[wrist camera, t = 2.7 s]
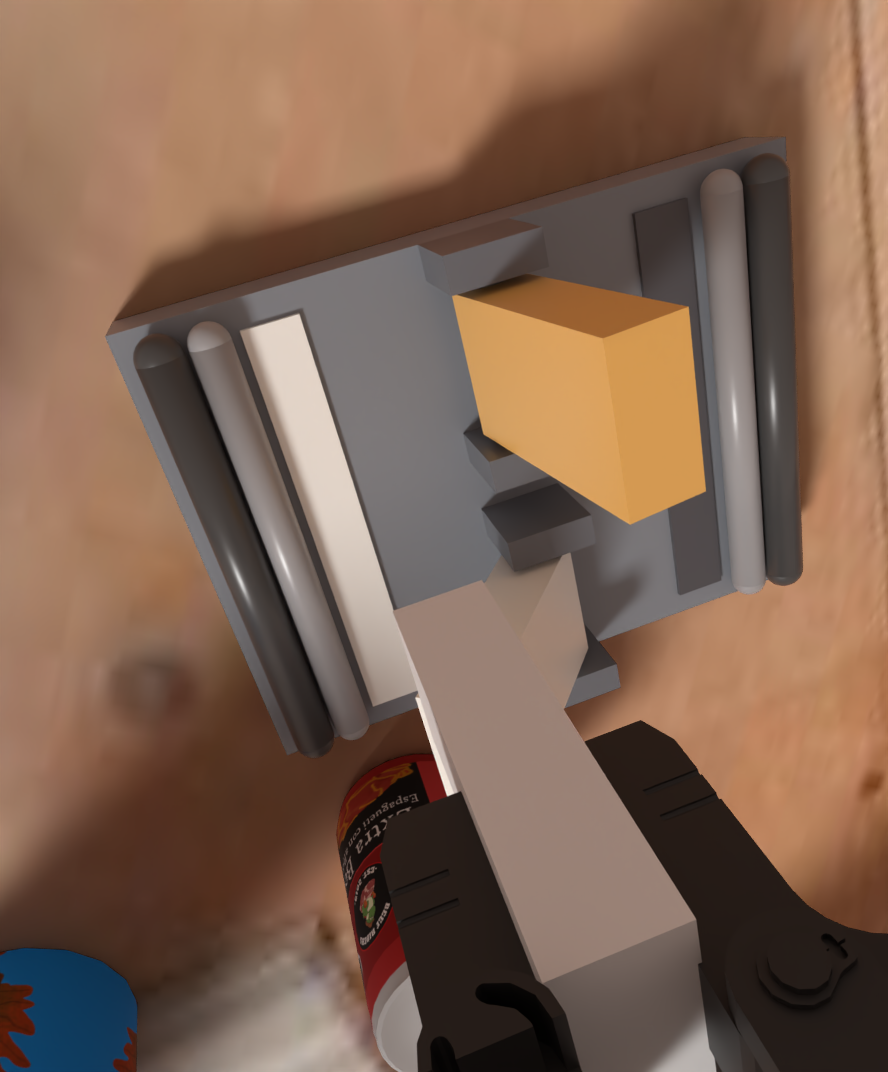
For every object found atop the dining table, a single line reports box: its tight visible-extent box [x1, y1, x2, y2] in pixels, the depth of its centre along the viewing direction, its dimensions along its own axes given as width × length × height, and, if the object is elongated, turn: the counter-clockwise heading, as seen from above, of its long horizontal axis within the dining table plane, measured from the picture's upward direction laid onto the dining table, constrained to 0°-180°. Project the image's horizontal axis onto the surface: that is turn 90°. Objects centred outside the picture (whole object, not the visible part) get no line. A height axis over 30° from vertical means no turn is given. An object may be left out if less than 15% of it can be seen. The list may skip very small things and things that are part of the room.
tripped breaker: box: [452, 274, 706, 525], centre depth 25 cm, size 5×2×10 cm, turn 13°
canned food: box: [336, 754, 447, 1072], centre depth 36 cm, size 8×8×11 cm
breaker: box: [415, 553, 588, 796], centre depth 30 cm, size 5×2×10 cm
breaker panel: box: [105, 137, 803, 758], centre depth 32 cm, size 18×24×6 cm
